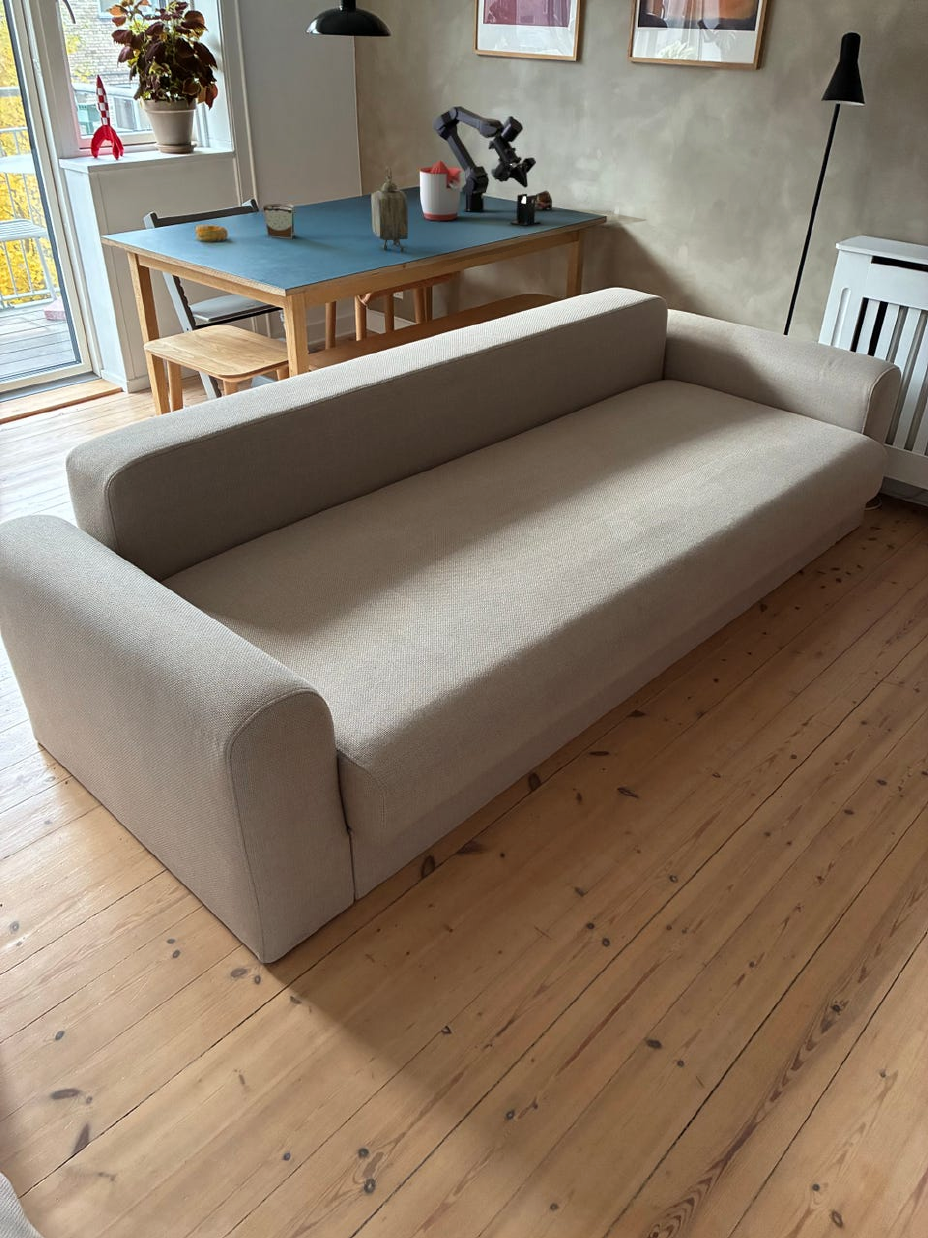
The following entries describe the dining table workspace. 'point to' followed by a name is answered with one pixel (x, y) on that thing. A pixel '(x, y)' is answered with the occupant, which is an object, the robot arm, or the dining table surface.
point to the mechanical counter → (544, 200)
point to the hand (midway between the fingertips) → (526, 186)
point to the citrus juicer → (440, 192)
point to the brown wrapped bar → (535, 202)
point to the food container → (279, 220)
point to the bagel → (211, 233)
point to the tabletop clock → (390, 213)
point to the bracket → (525, 211)
